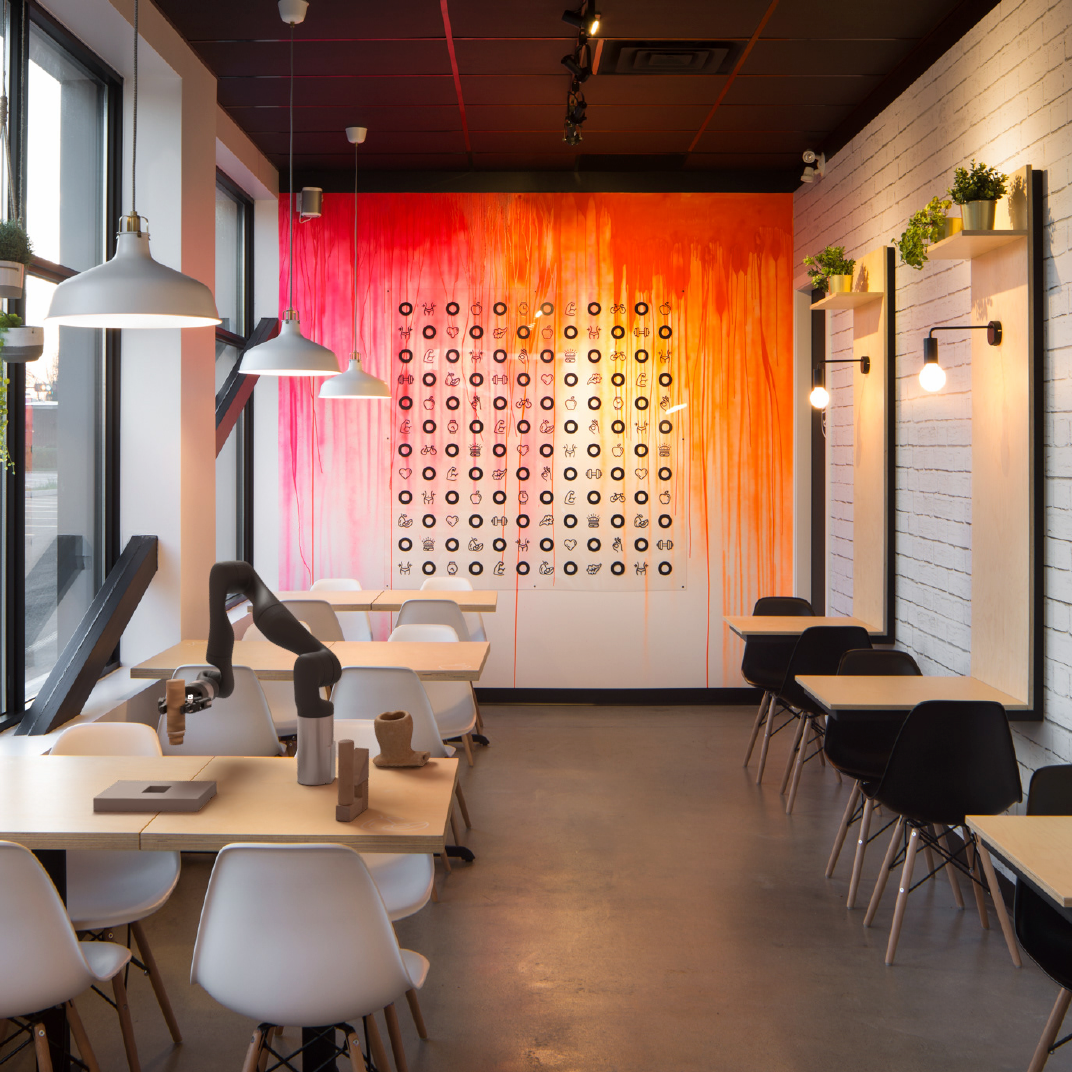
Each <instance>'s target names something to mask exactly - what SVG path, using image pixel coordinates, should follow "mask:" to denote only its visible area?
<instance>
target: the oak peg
mask: <svg viewBox="0 0 1072 1072" xmlns="http://www.w3.org/2000/svg"><path fill="white" fill-rule="evenodd" d="M165 682H166V683H165V686H166V688H165V689H166V691H165V693H166V695H165V696H166V697H165V698H166V702H167V713H166V734H167V737H168V745H169V746H181V745H183V744H184V737H185V732H186V731H187V729H186V714H184V715H181V706H182V705H183V704H185V686H186V679H183V678H174V679H172V678H171V679H167V680H165Z"/></svg>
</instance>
